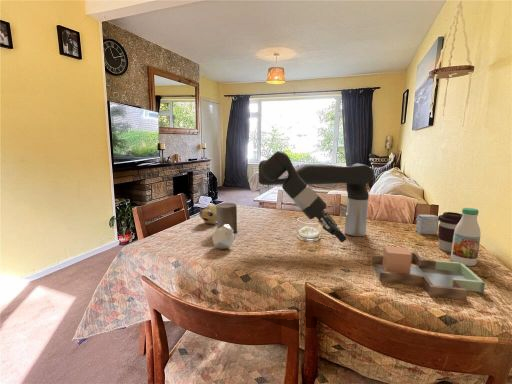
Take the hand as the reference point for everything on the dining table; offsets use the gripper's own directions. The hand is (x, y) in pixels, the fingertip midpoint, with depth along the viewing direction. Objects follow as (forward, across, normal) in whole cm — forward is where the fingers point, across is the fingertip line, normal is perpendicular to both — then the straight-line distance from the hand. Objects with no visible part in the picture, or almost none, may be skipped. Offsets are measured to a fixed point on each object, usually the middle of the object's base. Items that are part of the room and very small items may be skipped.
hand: (344, 240), depth 94 cm
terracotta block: (+19, -1, +5) cm, 20 cm away
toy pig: (-37, -41, -55) cm, 78 cm away
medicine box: (+37, -51, +22) cm, 67 cm away
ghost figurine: (-24, -10, -41) cm, 49 cm away
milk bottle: (+38, -18, +24) cm, 48 cm away
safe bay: (+32, -1, +17) cm, 36 cm away
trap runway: (+25, -1, +10) cm, 27 cm away
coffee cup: (+38, -30, +24) cm, 54 cm away
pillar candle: (-28, -29, -45) cm, 60 cm away
